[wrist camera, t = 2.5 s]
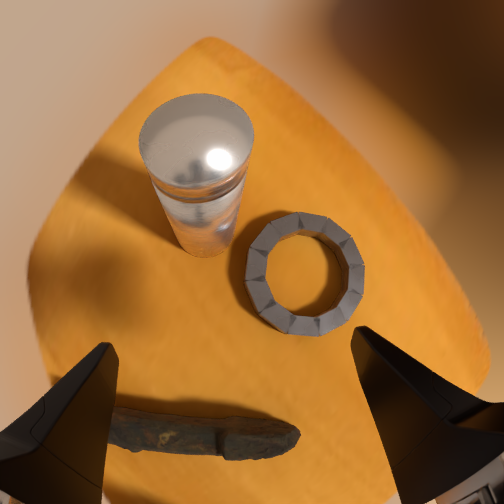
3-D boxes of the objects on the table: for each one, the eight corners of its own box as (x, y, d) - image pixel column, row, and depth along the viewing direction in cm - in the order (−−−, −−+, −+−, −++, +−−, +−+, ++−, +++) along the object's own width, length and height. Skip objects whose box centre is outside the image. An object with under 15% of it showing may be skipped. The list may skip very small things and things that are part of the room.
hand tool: (81, 427, 18) (59, 444, 14) (78, 389, 19) (53, 400, 15) (290, 450, 20) (305, 474, 16) (294, 411, 21) (311, 430, 17)
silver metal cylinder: (209, 269, 23) (200, 206, 10) (163, 233, 23) (116, 143, 11) (246, 224, 24) (276, 128, 12) (201, 191, 24) (193, 80, 12)
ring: (316, 357, 22) (322, 359, 21) (219, 286, 23) (220, 283, 21) (373, 265, 25) (381, 261, 23) (289, 198, 25) (293, 191, 24)
